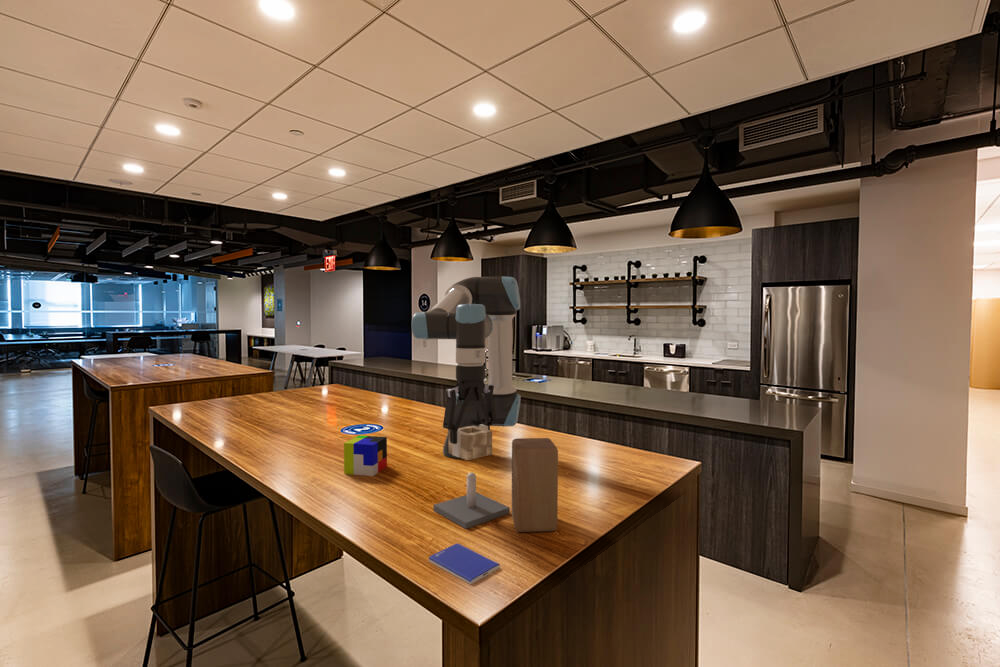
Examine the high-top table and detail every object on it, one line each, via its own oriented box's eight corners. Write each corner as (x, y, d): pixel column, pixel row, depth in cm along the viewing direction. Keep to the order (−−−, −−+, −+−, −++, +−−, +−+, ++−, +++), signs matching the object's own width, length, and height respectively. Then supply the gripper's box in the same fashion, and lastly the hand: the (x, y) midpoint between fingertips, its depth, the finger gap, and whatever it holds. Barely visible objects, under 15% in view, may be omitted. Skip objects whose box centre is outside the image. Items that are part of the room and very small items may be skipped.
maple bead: (473, 447, 127) (473, 425, 127) (492, 454, 121) (492, 431, 121) (448, 453, 122) (448, 429, 121) (467, 460, 116) (467, 435, 115)
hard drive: (428, 556, 97) (470, 579, 89) (457, 542, 103) (499, 562, 95) (428, 563, 97) (470, 587, 89) (457, 549, 103) (499, 570, 95)
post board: (476, 497, 132) (476, 461, 131) (509, 513, 121) (509, 473, 121) (433, 510, 122) (433, 471, 122) (465, 529, 112) (465, 486, 111)
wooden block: (511, 515, 119) (511, 437, 119) (550, 514, 120) (550, 436, 120) (515, 534, 109) (516, 448, 109) (558, 532, 110) (558, 447, 110)
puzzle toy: (373, 476, 149) (372, 444, 149) (344, 474, 151) (343, 443, 151) (386, 466, 159) (386, 437, 158) (359, 464, 161) (359, 435, 160)
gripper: (444, 368, 111) (444, 464, 112) (510, 363, 124) (510, 448, 125) (427, 365, 117) (427, 457, 117) (492, 361, 130) (492, 443, 131)
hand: (470, 452), depth 121 cm, fingers closed on maple bead, 8 cm apart
